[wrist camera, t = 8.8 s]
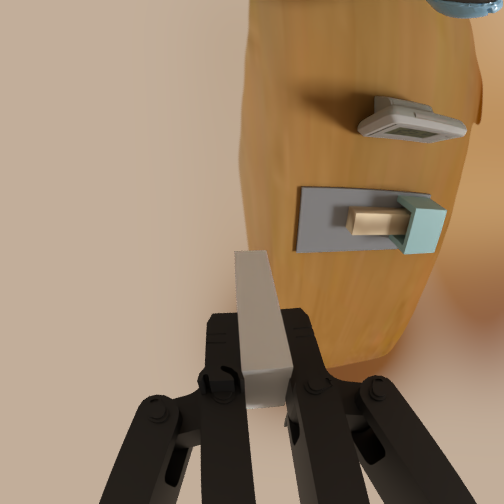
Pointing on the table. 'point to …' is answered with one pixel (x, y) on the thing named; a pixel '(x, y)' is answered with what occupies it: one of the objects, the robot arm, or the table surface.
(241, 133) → the table surface
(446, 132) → the digital clock
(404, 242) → the end cap
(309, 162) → the table surface
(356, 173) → the table surface
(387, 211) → the slat
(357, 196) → the mat
